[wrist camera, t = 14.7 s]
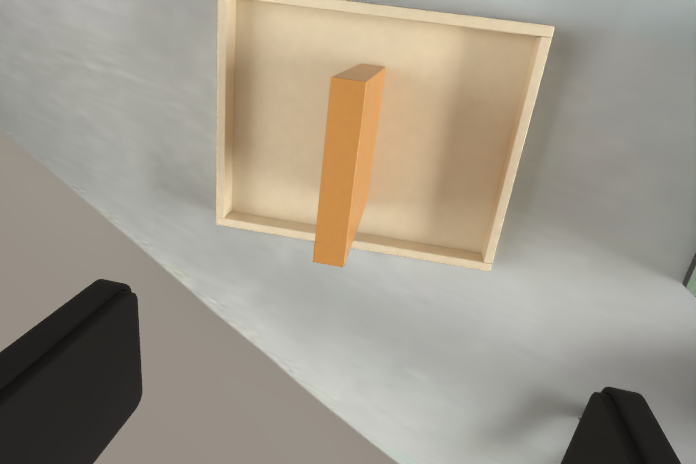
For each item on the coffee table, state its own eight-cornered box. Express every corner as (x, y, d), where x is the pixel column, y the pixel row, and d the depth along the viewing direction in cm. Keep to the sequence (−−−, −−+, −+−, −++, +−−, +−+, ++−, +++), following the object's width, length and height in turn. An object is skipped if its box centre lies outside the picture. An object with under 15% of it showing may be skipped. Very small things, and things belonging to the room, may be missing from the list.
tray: (230, -13, 30) (217, -16, 28) (547, 26, 28) (555, 25, 26) (226, 214, 36) (215, 224, 34) (486, 259, 34) (490, 271, 32)
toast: (360, 63, 30) (330, 76, 21) (386, 66, 30) (367, 81, 21) (344, 199, 33) (312, 262, 24) (366, 203, 33) (343, 267, 24)
